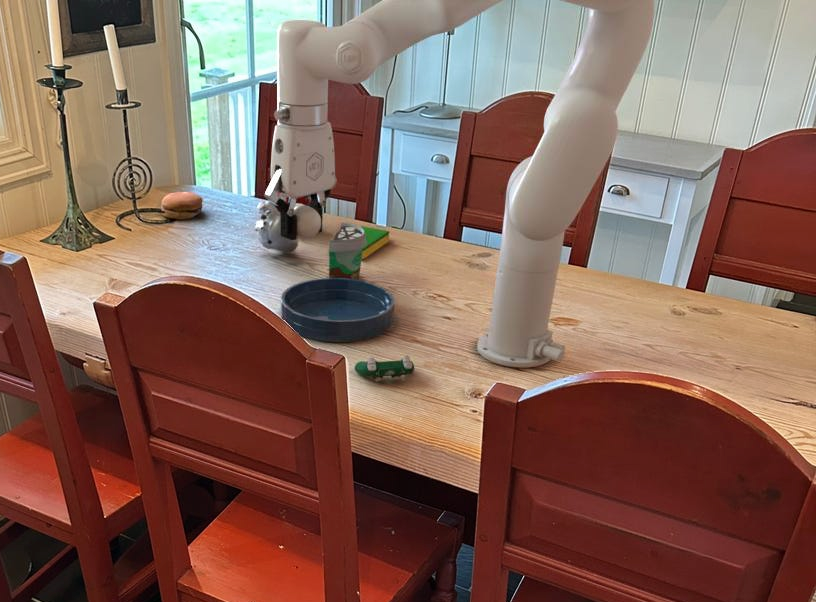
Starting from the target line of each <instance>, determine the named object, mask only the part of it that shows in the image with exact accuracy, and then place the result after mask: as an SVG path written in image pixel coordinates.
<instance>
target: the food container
mask: <svg viewBox="0 0 816 602" xmlns="http://www.w3.org/2000/svg"><path fill="white" fill-rule="evenodd" d="M366 243H367V241H366V235H365V233H364V230H363V229H362V228H361V226H359V225H357V224H353V223H350V222H346V221H345V222H344V221H340V228H339V230H338V231H337V232H336V233H335V235H334V237H333V239H329V240H328V270H329V271H328V278H348V279H356V280H360V274H361V267H362V260H363V259H362V250H363V247H364V246H365V245H366Z"/></svg>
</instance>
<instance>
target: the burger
mask: <svg viewBox="0 0 816 602" xmlns="http://www.w3.org/2000/svg"><path fill="white" fill-rule="evenodd" d="M203 200H204V199H203V197H201V196H200V195H199V194H197V193H193V192H191V191H187V190H186V191H176V192H171V193H168V194H166V195H165V196H164V197H163V198H162V200H161V206H160V209H161V212H162V211H164V212H165V213H162V216H163V217H165V218H168V219H173V220H182V221H183V220H189V219H192V218H194V217H196V216H197V215H198V214H200V213H201V212H202V210H203V202H204V201H203Z"/></svg>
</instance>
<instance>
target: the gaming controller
mask: <svg viewBox="0 0 816 602" xmlns="http://www.w3.org/2000/svg"><path fill="white" fill-rule="evenodd" d="M354 370H355V372H356V373H357V374H358V375H359V376H361V377H364V378H369V379H372V378H373V380H374V381H375V382H381V381H382V380H383V378H384V377H391V379H392V380H393V381H399V380H400V379H401V377H402V376H408V375H412V374H413V373H414V372H415V364H414V362H413V361H412V359H411V358H410V356H409V355H407V354H406V355H403V357H402V358H401V359H400V360H386V361H377V360H376V358H375V357H373V356H371V357H369V359H368V360H367V361H365V360H364V361H363V360H362V361H357V362H356V364H355V365H354Z"/></svg>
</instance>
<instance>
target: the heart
mask: <svg viewBox="0 0 816 602" xmlns="http://www.w3.org/2000/svg"><path fill="white" fill-rule="evenodd" d="M256 209H257V210H258V214H260V220H257V221H255V224H254V225H255V227H254V231H255V232H257V239H258V241H259V243H260V244H261V245H262V247H264V248H265V249H267V250H274V251H277V252H281V253H284V254H285V253H287V254H291V253H293V252H294V251H296V249H297V248H298V246H299V237H297V238H296V240H290V239H287V238H284V237H282V236H281V234H280V212H278V211H277V208H276V207H275V206H274V205H273V204H272V203H271V202H270V201H269V200H267V201H260V202H259V203H258V205H257V208H256Z"/></svg>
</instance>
